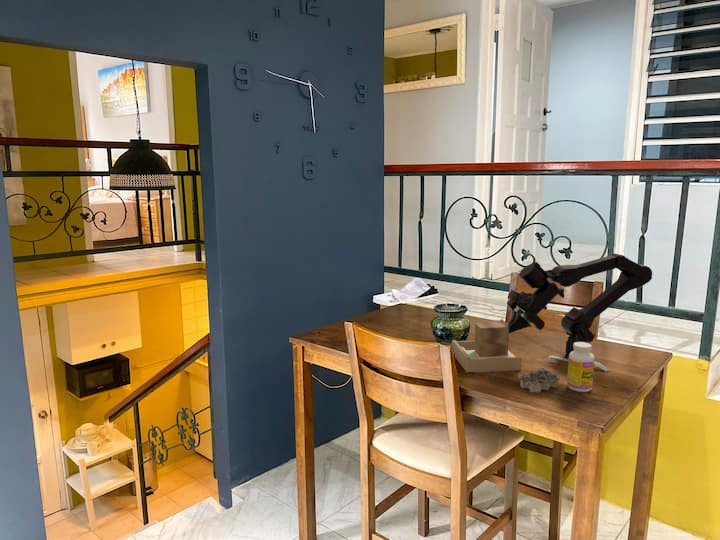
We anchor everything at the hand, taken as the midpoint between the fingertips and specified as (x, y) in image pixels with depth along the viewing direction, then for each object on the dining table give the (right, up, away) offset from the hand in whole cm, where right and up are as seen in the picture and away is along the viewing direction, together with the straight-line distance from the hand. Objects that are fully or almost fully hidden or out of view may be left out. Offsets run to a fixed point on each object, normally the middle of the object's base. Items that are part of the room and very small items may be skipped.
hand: (506, 332), depth 175 cm
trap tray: (-7, -9, +1) cm, 11 cm away
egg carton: (+4, -13, -19) cm, 24 cm away
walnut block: (-5, -7, +1) cm, 8 cm away
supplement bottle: (+15, -13, -21) cm, 29 cm away
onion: (+4, -6, +21) cm, 22 cm away
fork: (+22, -10, -3) cm, 24 cm away
